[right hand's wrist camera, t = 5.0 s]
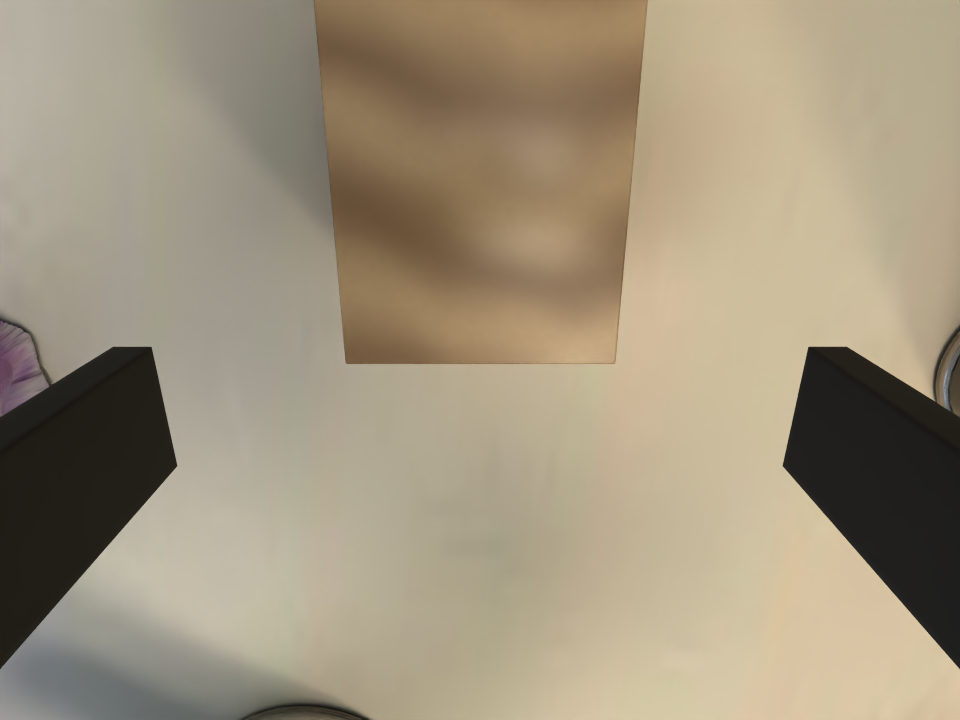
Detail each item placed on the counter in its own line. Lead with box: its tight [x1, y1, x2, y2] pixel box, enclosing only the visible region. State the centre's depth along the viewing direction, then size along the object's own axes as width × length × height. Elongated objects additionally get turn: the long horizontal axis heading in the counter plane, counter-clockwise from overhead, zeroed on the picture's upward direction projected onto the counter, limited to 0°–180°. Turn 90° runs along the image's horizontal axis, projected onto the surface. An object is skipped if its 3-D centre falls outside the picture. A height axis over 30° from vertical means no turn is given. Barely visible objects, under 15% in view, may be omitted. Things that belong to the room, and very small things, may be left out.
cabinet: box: [314, 0, 648, 364], centre depth 24 cm, size 20×11×10 cm, turn 0°
